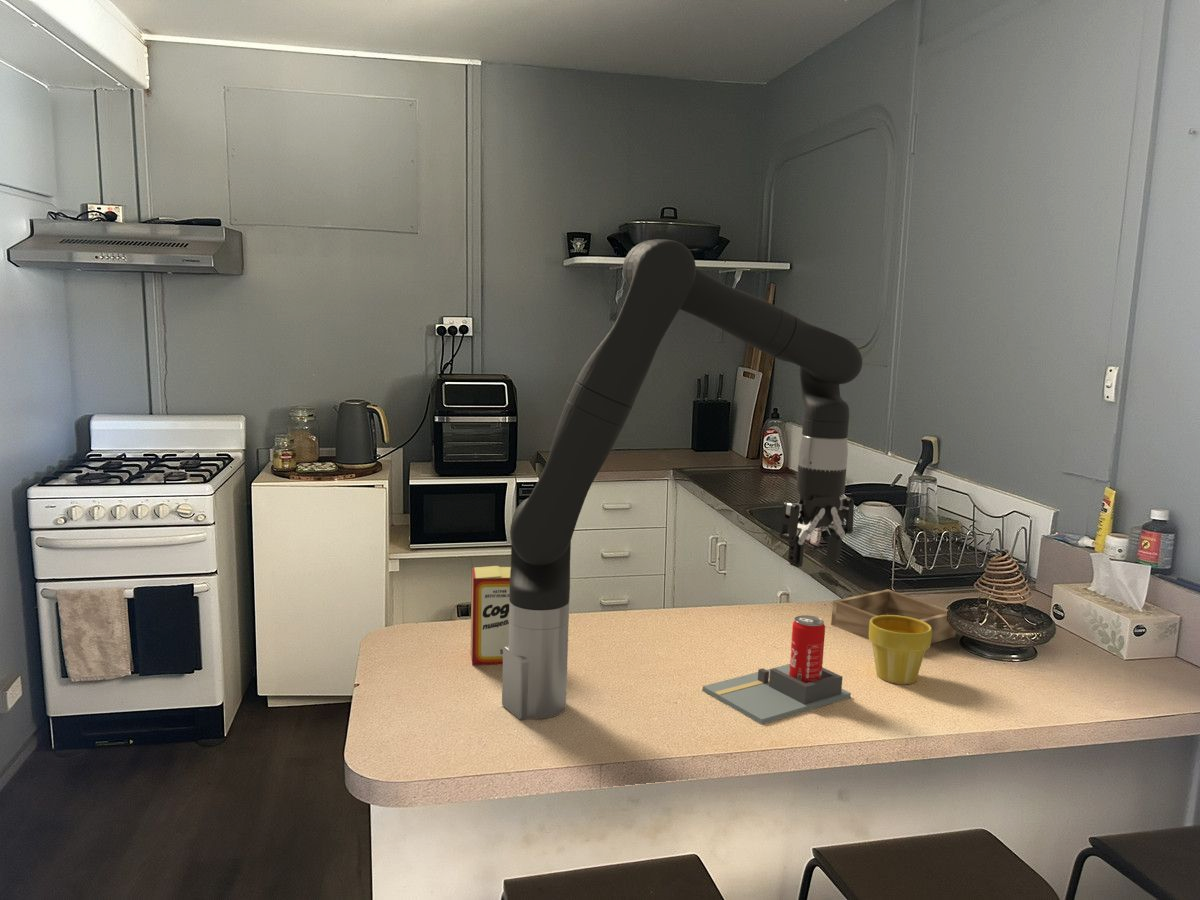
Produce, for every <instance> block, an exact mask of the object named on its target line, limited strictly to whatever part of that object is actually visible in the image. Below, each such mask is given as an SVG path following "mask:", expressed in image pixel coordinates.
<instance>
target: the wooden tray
mask: <svg viewBox="0 0 1200 900" xmlns="http://www.w3.org/2000/svg"><path fill="white" fill-rule="evenodd" d="M831 608H832V610H831V619H830V620H831V621H830V625H831V626H834V627H837V628H839V629H842V630H845V631H847V632H849V633H852V634H854V635H857V636H859V637H862V638H864V639H867V640H869V622H870V619H871V618H873V617H875V616H880V615H898V616H906V617H911V618H915V619H918V620H921V621H923V622H925V623H927V624H929V625H930V626H931V628H932V638H931V644H934V643H938V642H941V641H946V640H949V639H952V638H956V633H957V630H956V631H955V630H954V629H953V628H952V627H951V626H950V625H949V623H948V621H947V611H948V610H949V609H947V608H945V607H942V606H938V605H936V604H933V603H929V602H927V601H924V600H921V599H919V598H915V597H912V596H910V595H906V594H903V593H900V592H897V591H895V590H892V589H884V590H877V591H874V592H873V591H872V592H869V593H863V594H858V595H853V596H850V597H843V598H841V599H836V600H833V601H832V607H831ZM869 641H870V640H869Z"/></svg>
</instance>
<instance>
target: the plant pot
mask: <svg viewBox="0 0 1200 900" xmlns="http://www.w3.org/2000/svg"><path fill="white" fill-rule="evenodd" d="M931 638H932V628H931V626H930V625H929V624H927V623H925V622H923V621H921V620H918V619H915V618H911V617H906V616H898V615H889V614H884V615H879V616H875V617H873V618H871V619H870V622H869V641H870V642H871V643H872V651H873V657H874V665H875V671H876V676H877V677H878V678H879V679H881V680H882V681H885V682H888V683H890V684H895V685H896V684H897V685H910V684H914V683H915V682H916V681H917V679H918V676H919V672H920V670H921V666H922V663H923V661H924V657H925V653H926V651H927V650H928V649H930V647H931V644H932V643H931Z"/></svg>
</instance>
